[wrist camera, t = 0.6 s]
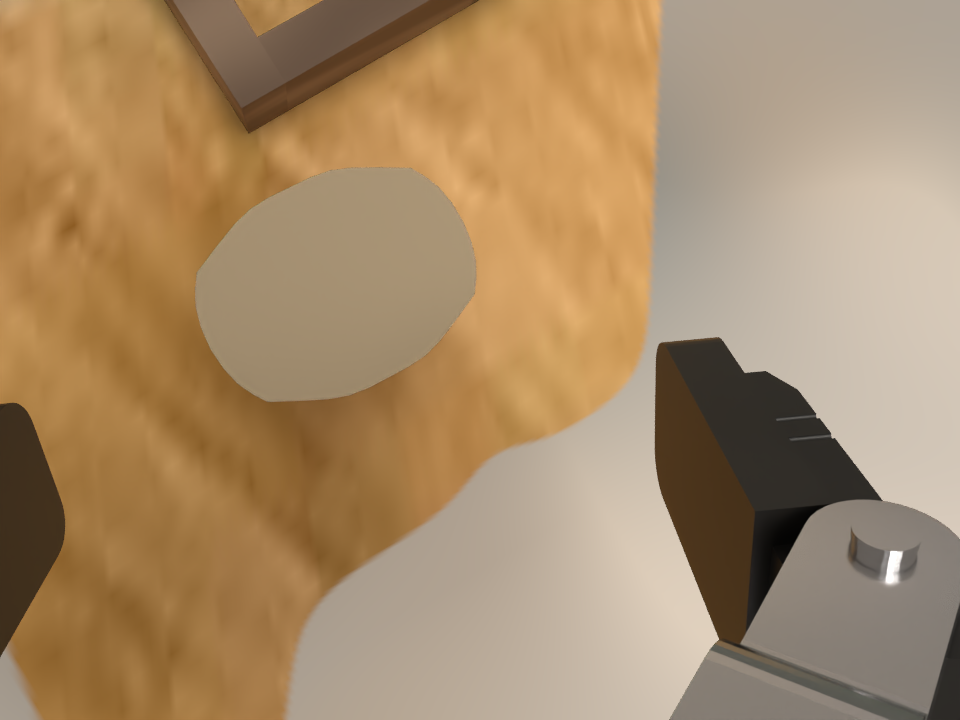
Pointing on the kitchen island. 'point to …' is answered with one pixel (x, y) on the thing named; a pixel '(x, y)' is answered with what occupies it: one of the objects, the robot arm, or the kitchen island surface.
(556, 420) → the kitchen island surface
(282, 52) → the socket
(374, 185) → the handle
